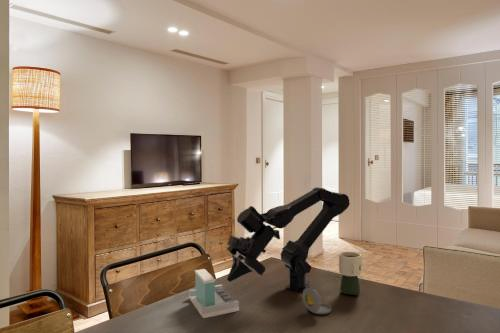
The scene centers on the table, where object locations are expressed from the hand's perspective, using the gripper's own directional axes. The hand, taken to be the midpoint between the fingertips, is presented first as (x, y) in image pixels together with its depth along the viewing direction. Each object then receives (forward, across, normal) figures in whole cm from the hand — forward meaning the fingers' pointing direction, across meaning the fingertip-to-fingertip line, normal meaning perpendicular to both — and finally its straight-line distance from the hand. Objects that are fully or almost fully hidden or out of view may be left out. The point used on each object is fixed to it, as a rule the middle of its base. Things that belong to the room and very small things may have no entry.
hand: (228, 280), depth 114 cm
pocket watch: (-10, +18, +20) cm, 28 cm away
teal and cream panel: (+9, 0, -2) cm, 9 cm away
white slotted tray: (+8, 0, +1) cm, 8 cm away
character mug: (-22, +12, +32) cm, 41 cm away
